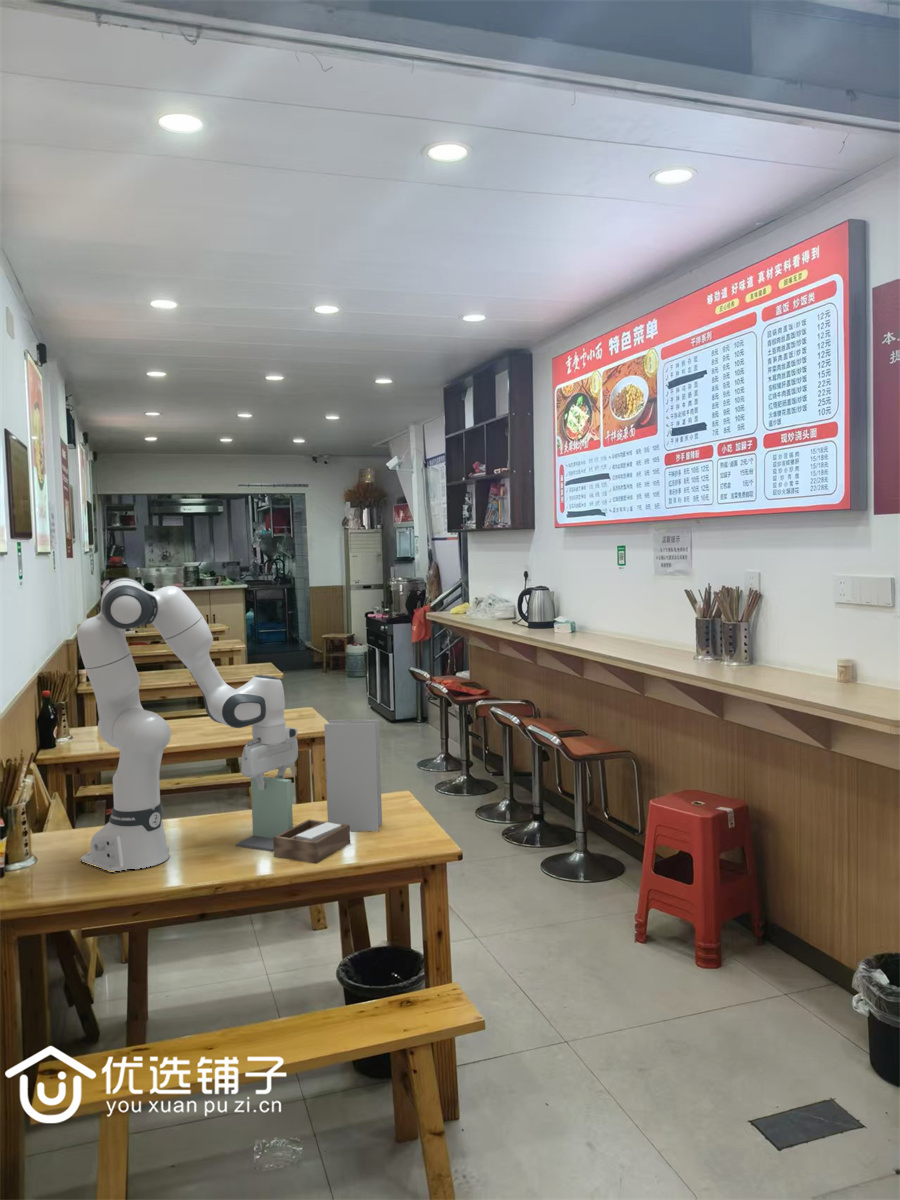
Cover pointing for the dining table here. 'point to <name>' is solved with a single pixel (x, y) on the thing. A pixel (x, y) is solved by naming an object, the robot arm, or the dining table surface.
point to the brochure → (353, 773)
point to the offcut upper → (318, 832)
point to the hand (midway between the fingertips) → (271, 785)
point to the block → (271, 807)
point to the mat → (258, 843)
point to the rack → (310, 842)
